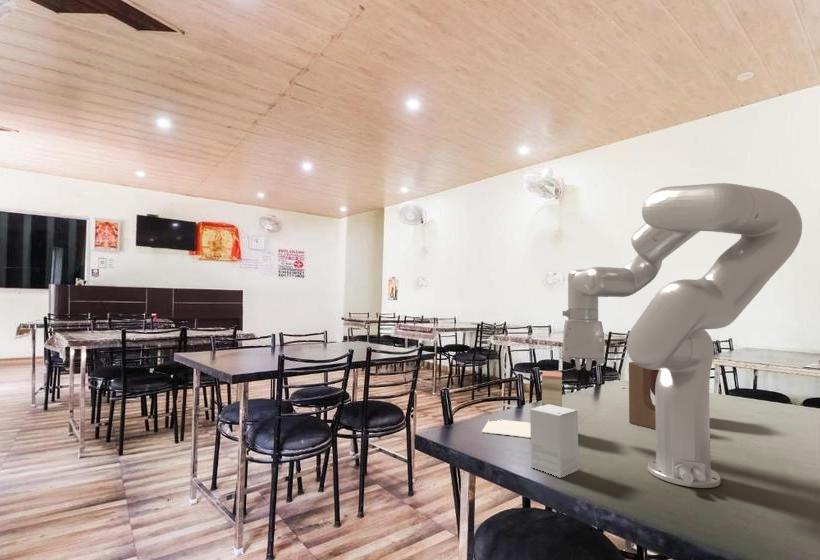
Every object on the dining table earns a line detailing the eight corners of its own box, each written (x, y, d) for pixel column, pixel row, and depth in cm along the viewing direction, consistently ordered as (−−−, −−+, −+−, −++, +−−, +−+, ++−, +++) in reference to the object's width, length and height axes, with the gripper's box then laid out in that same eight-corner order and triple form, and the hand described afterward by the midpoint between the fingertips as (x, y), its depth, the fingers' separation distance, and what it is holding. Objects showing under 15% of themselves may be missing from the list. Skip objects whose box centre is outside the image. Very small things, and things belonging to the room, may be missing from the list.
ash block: (562, 438, 111) (561, 376, 112) (542, 436, 113) (541, 375, 113) (562, 430, 118) (561, 372, 119) (543, 428, 120) (543, 370, 121)
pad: (535, 439, 110) (535, 437, 110) (481, 432, 115) (481, 431, 115) (538, 424, 123) (538, 423, 123) (489, 419, 128) (489, 418, 128)
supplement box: (579, 470, 90) (579, 409, 91) (560, 479, 85) (560, 415, 86) (549, 459, 96) (548, 403, 96) (529, 467, 91) (529, 408, 92)
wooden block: (668, 428, 121) (667, 364, 122) (661, 431, 119) (660, 366, 120) (635, 421, 128) (635, 360, 129) (628, 423, 126) (627, 362, 127)
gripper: (553, 315, 113) (553, 385, 113) (615, 316, 108) (615, 389, 107) (553, 314, 120) (554, 380, 120) (612, 316, 115) (612, 384, 114)
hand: (583, 384), depth 113 cm, fingers closed
